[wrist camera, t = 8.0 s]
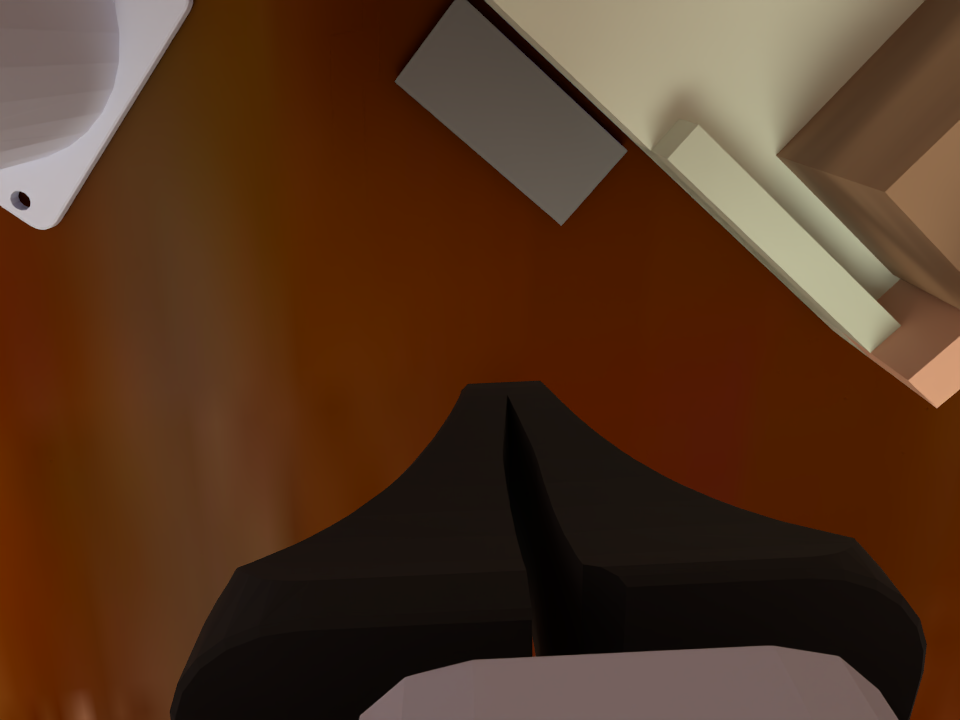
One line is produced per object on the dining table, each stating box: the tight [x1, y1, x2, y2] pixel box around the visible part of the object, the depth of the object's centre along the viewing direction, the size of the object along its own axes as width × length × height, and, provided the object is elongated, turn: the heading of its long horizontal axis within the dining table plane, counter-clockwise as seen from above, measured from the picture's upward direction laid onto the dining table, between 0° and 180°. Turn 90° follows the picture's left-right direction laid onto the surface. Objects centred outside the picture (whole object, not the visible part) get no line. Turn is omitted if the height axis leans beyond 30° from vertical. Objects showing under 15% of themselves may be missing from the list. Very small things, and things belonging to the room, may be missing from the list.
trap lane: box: [484, 0, 960, 408], centre depth 16 cm, size 17×9×5 cm, turn 50°
